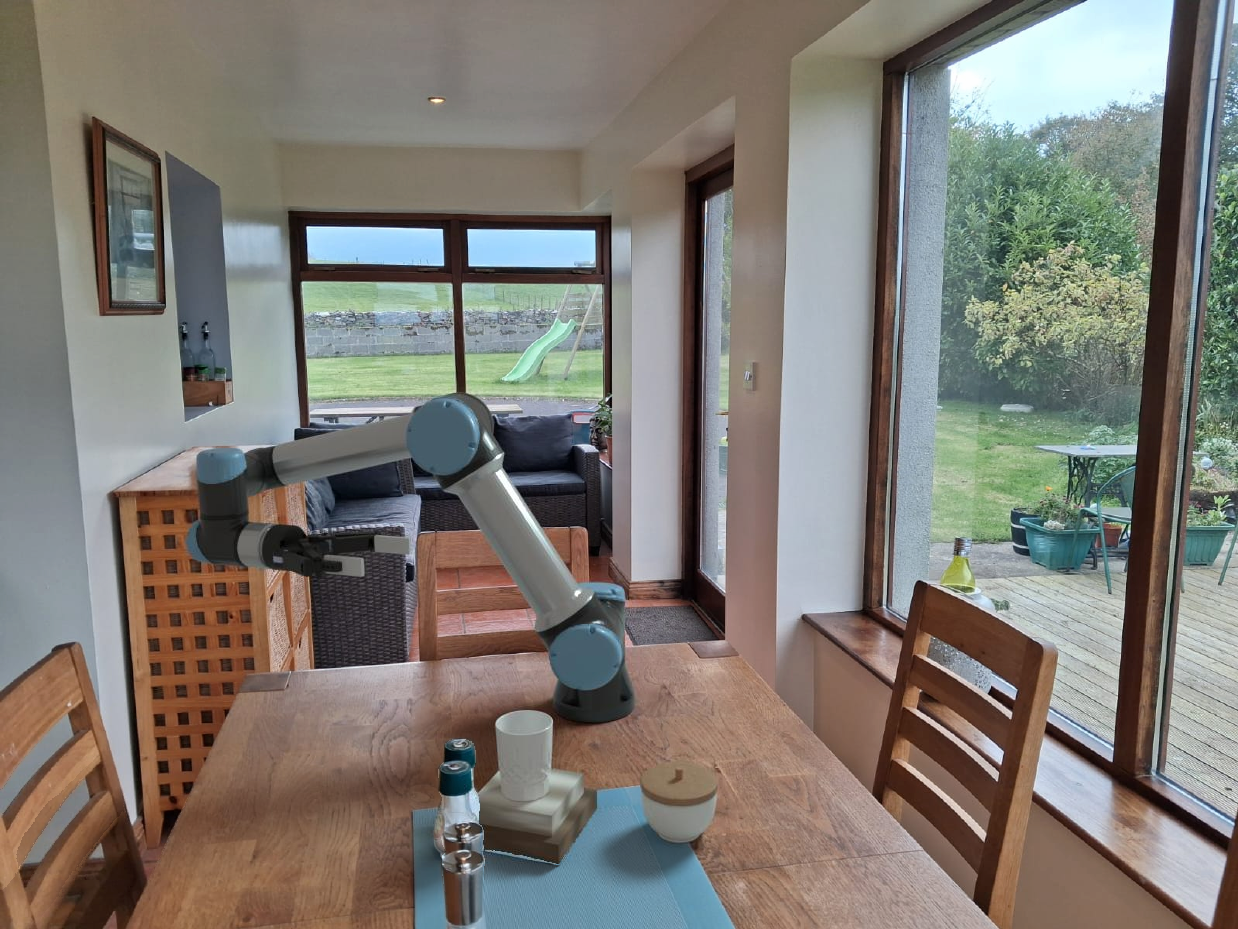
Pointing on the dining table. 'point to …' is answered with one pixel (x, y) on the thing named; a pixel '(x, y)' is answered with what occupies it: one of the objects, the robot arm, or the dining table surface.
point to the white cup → (524, 754)
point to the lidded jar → (679, 799)
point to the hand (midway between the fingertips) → (387, 556)
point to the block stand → (537, 817)
